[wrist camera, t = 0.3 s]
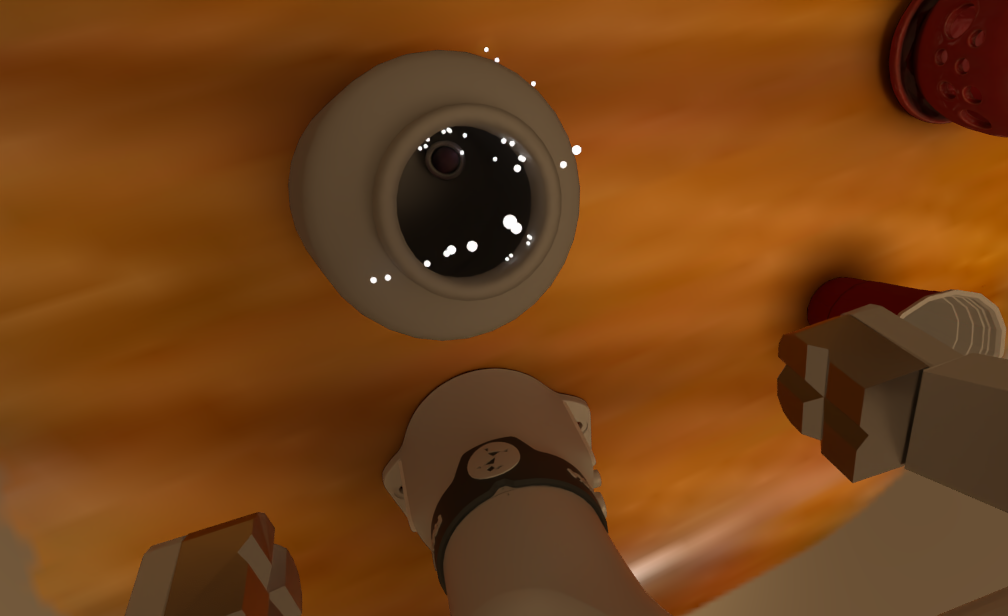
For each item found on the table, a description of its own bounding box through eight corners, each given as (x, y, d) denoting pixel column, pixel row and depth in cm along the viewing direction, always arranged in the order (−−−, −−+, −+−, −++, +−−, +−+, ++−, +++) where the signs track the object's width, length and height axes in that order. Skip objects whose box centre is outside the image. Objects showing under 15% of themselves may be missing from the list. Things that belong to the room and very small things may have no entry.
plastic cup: (788, 253, 54) (896, 297, 43) (894, 245, 56) (1023, 285, 45) (771, 366, 58) (867, 432, 47) (871, 354, 60) (985, 415, 49)
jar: (461, -7, 42) (580, -111, 19) (578, 167, 48) (778, 249, 25) (248, 169, 43) (117, 271, 20) (388, 319, 49) (411, 531, 26)
